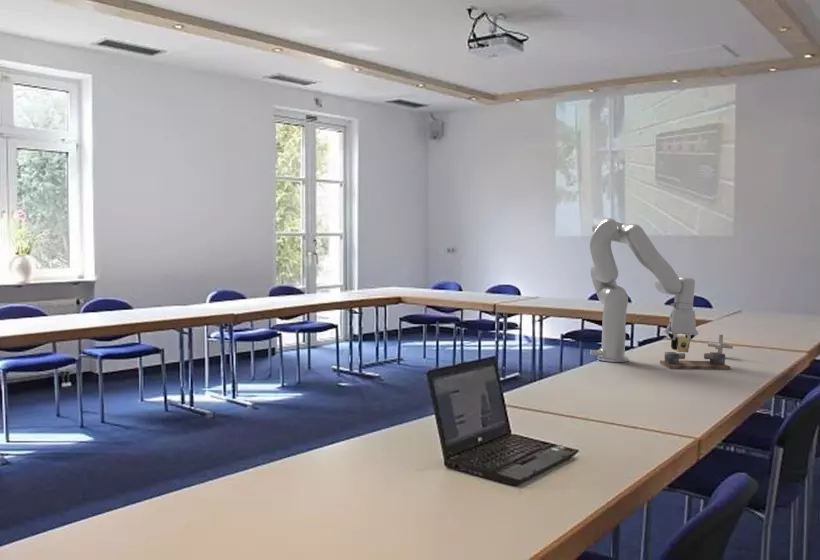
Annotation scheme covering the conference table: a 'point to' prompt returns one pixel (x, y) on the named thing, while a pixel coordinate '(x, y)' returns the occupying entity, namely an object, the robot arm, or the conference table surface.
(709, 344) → the pipe connector
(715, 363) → the shaft stand
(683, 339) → the block
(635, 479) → the conference table surface
